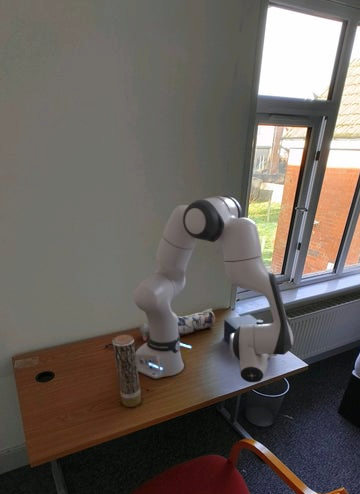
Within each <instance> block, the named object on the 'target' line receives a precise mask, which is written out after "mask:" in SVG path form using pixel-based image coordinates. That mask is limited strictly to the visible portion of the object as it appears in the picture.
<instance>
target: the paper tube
mask: <svg viewBox="0 0 360 494" xmlns="http://www.w3.org/2000/svg"><path fill="white" fill-rule="evenodd" d="M112 344H113V346H112V349H113V354H114V361H115V367H116V373H117V380H118V385H119V386H118V387H119V393H120V398H121V403H122V405H123V406H124V407H127V408H133V407H134V408H135V407H137V406H138V405H140V403H141V402H142V395H141V394H142V393H141V385H140V379H139V378H140V377H139V372H138V369H137V360H136V352H135V348H136V346H135V345H136V344H135V338H134V336H133V335H130V334H120V335H117V336H115V337H113V338H112Z"/></svg>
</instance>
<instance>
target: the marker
mask: <svg viewBox="0 0 360 494" xmlns="http://www.w3.org/2000/svg"><path fill="white" fill-rule="evenodd" d="M258 324H264V320H262V319H257V323H256V325H258Z"/></svg>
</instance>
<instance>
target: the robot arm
mask: <svg viewBox="0 0 360 494" xmlns="http://www.w3.org/2000/svg"><path fill="white" fill-rule="evenodd" d="M242 213H243V212H242V207H241V205H240V203H239V201H238V200H236V198H233V197H231V196H228V195H220V196H218V195H217V196H216V195H215V196H209V197H206V198H202V199H197V200H195V201H193V202H191V203H190V204H189V205H188V204H180V205H178V206H175V208H174V209H173V211H172V213H171V214H170V216H169V218H168V220H167V222H166V224H165V227H164V229H163V231H162V235H161V238H160V240H159V244H158V247H157V250H156V253H155V258H156V260H157V268H156V270H155V271H154V273H153V274H152V275H150V276H149V277H147V278H145V279H144V280H142V281H141V282H140V283H139V284H138V286H136V288H135V289H134V291H133V294H132V295H133V301H134V303H135V305H136V306H137V307H138V309H139V310H141V311H143V312H144V313H145V316H146V318H147V322H148V323H147V324H149V332H150V333H148V334H146V336H145V339H144V340H143V341H144V343H143V344H140V345H138V346H135V352H136V360H137V369H138V373H141V374H143V375H145V376H147V377H149V378H151V379H154V380H155V379H157V380H158V379H161V378H163V377H171V376H174V375H177V374H179V373H181V372H182V371H183V370H184V368H185V363H184V362H183V357H182V354H181V346H182V347H185V348H189V349H192V346H191V345H187V344H184V343H182V342H181V338H180V337H181V336H180V335H179V333H178V318H177V317H178V315H177V314H176V313H175V312H173V311H172V307H171V301H172V300H173V299H174V298H176V297H177V296H178V295H179V294H181V292H182V291H183V289H184V287H186V281H187V280H186V271H187V267H188V263H189V261H190V259H191V256H192V254H193V252H194V249H195V246H196V244H197V241H198V240H202V241H207V242H211V243H215V242H217V241H218V242H219V243H220V244H221V247H222V253H223V260H224V269H225V273H226V276H227V277H226V278H228V281H230V282H231V283H232V284H233V285H234V286H236V287H238V288H240V289H244V290H247V291H251V292H254V293H258V294H259V295H261V296H263V297H264V298H265V299H266V301H267V302H268V306H269V309H270V313H271V316H272V321H273V322H270V323H263V324H258V325H255V324H254V325H242V326H239V327H238V328H237V330H236V331H235V333H232V334H230V344H229V350H230V355H231V356H230V357H233V358H236V359H237V360H238V361H239V374H240V377H241V379H242V380H244V381H245V382H246V383H247V382H248V383H258V382H260V381H262V380H263V379H264V378H265V376H266V373H267V368H268V354H277V355H281V356H282V355H285V354H287V353H288V352H289V351H290V350H291V349H292V348H293V345H294V334H293V331H292V328H291V326H290V324H289V320H288V317H287V313H286V309H285V305H284V301H283V297H282V293H281V290H280V287H279V282H278V279H277V277H276V275H275V273H274V272H273V271H270V270H268V268H267V266H266V265H265V264H264V263H265V262H264V260H263V253H262V244H261V239H260V235H259V231H258V227H257V225H256V223H255V221H253V219H250V218H248V217H242ZM107 344H108V345H112V346H111V347H113V343H107ZM107 344H106V345H104V347H105V348H108V347H109V346H107Z"/></svg>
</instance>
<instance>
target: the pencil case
mask: <svg viewBox="0 0 360 494" xmlns="http://www.w3.org/2000/svg"><path fill="white" fill-rule="evenodd" d="M213 310H214V309H212V308H207V309H204V310H203V311H199V312H194V313H191V314H188V315H184V316H183V315H182V316H178V315H177V318H178V333H179V335H180V337H182V336H185V335H187V334H188V335H189V334H192V333H195V332H198V331H201V330H204V329H208V328H212V327H213V326H214V325H215V323H216V316H215V314H214V312H213Z"/></svg>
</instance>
